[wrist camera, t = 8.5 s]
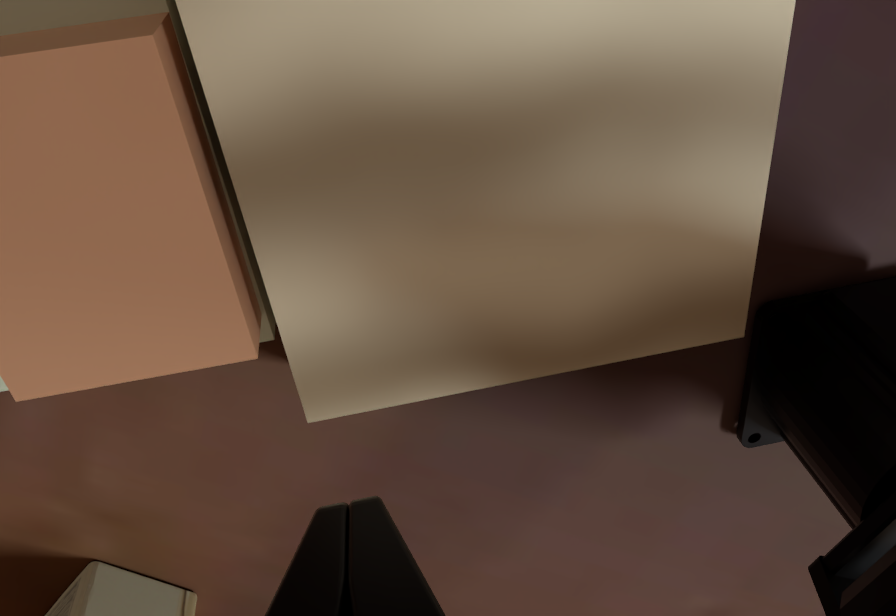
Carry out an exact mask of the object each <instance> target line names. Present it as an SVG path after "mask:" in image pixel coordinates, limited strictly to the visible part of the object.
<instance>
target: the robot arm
mask: <svg viewBox="0 0 896 616" xmlns="http://www.w3.org/2000/svg"><path fill="white" fill-rule="evenodd" d="M775 314H776V315H775ZM773 315H775V316H774V317H773V318H771V317H772V316H773ZM770 318H771V319H770ZM736 434H737V438H738V439H739V441H740V442H741V443H742V445H743V446H744V447H747V448H752V447H757V446H762V445H767V444H772V443H777V442H781V441H785V442H786V443H787V445H788V446H789V447H790V449H791V450H792V451H793V452H794V454H795V455H796V456H797V458H798V459H799V460H800V462H801V463H802V464H803V466H804V467H805V468H806V469H807V471H808V472H809V473H810V475H811V476H812V477H813V479H814V480H815V481H816V482H817V484H818V485H819V486H820V488H821V489H822V490H823V492H824V493H825V494H826V496H827V497H828V498H829V499H830V501H831V502H832V503H833V505H834V506H835V507H836V509H837V510H838V511H839V512H840V514H841V515H842V516H843V518H844V519H845V520H846V522H847V523H848V524H849V526H850V527H851V528H852V529H853V530H851V531H850V532H849V533H848V534H847V535H846V536H845V537H844V538H843V539H842V540H841V541H840V542H839V543H838V544H837V545H836V546H834V547H833V548H832V549H831V550H830V551H829V552H828V553H827V554H826V555H825V556H819V557H818V558H817V559H816V560H815V561H814V562H813V563H812V564H811V565H810V566H809V567H808V570H809V573H810V575H811V578H812V580H813V583H814V586H815V588H816V591H817V593H818V596H819V598H820V601H821V604H822V606H823V609H824V611H825V614H826V616H896V277H893V278H887V279H882V280H877V281H872V282H867V283H862V284H857V285H851V286H846V287H841V288H836V289H831V290H826V291H821V292H815V293H810V294H805V295H800V296H795V297H790V298H785V299H779V300H774V301H770V302H768V303H765V304H764V305H763V306H761V307H760V308H759V310H758V311H757V313H756V316H755V321H754V327H753V334H752V340H751V346H750V352H749V358H748V365H747V371H746V377H745V383H744V389H743V396H742V402H741V408H740V414H739V420H738V427H737V433H736ZM265 616H445V614H444V612H443V610H442V608H441V607H440V605H439V603H438V601H437V599H436V598H435V596H434V594H433V592H432V590H431V588H430V587H429V585H428V583H427V581H426V579H425V578H424V576H423V574H422V572H421V570H420V569H419V567H418V565H417V563H416V561H415V559H414V558H413V556H412V554H411V552H410V550H409V549H408V547H407V545H406V543H405V541H404V540H403V538H402V536H401V534H400V532H399V530H398V529H397V527H396V525H395V523H394V521H393V520H392V518H391V516H390V514H389V512H388V511H387V509H386V507H385V505H384V503H383V502H382V500H381V498H380V497H378V496H372V497H367V498H362V499H357V500H353V501H352V502H351V503H350V505H348V504H347V503H343V502H342V503H337V504H332V505H327V506H323V507H320V508H318V509H317V510H316V511H315V513H314V515H313V517H312V519H311V521H310V523H309V526H308V528H307V530H306V532H305V534H304V536H303V538H302V540H301V542H300V544H299V546H298V548H297V550H296V552H295V554H294V557H293V559H292V561H291V563H290V565H289V567H288V569H287V571H286V573H285V575H284V577H283V579H282V581H281V583H280V585H279V588H278V590H277V592H276V594H275V596H274V598H273V600H272V602H271V604H270V606H269V608H268V610H267V612H266V614H265Z"/></svg>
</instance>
